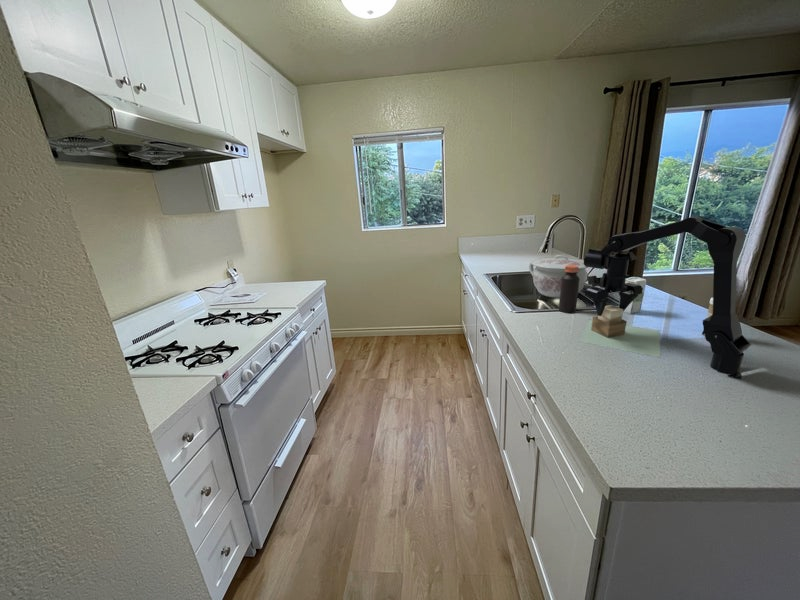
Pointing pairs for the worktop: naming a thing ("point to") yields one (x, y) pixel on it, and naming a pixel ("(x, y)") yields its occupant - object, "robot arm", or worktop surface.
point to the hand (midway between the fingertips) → (610, 314)
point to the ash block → (611, 314)
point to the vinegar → (569, 290)
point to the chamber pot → (555, 274)
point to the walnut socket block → (608, 327)
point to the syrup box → (637, 302)
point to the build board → (627, 340)
